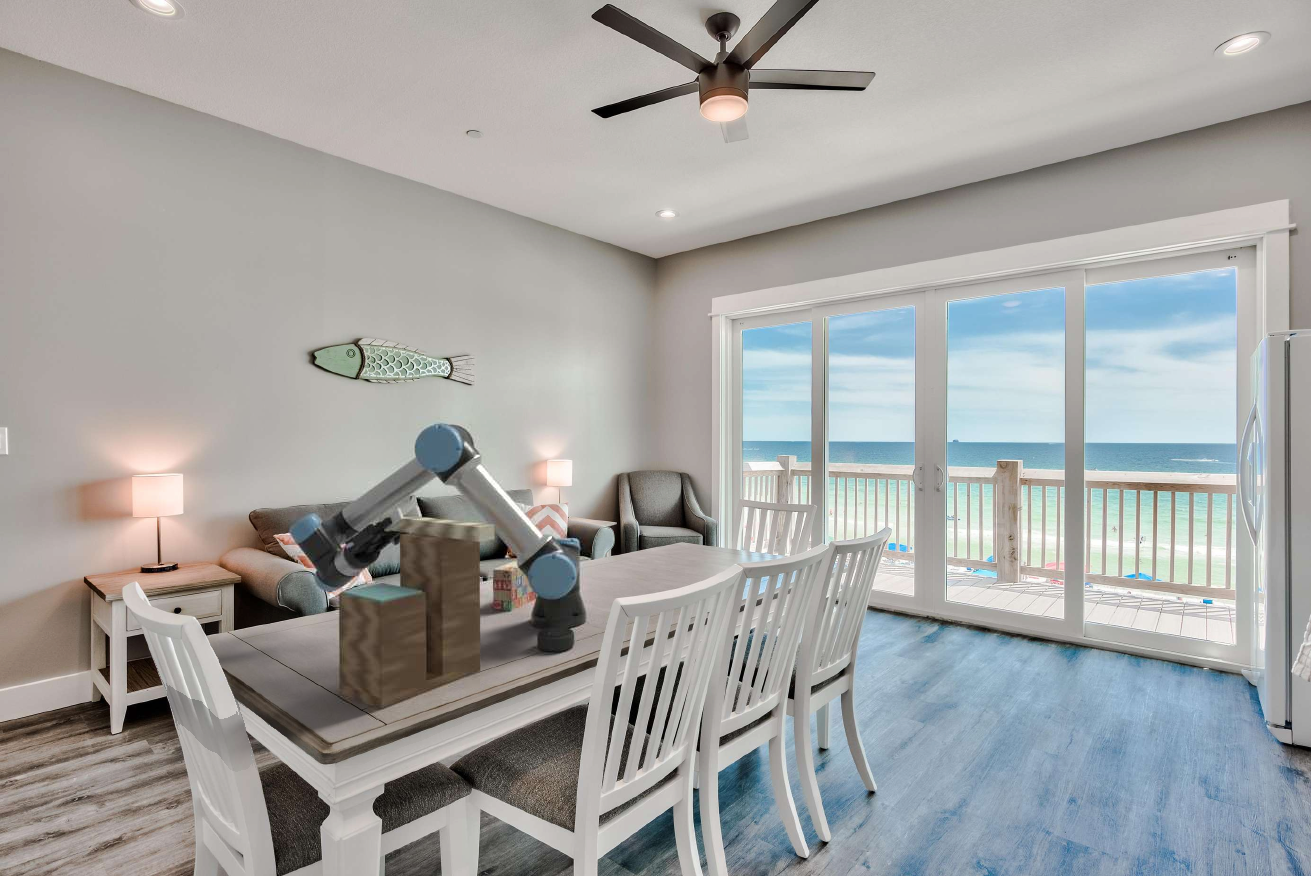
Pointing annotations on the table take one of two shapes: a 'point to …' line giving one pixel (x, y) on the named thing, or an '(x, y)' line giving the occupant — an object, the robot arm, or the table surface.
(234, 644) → the table surface
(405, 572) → the oak stand
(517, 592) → the stack of blocks
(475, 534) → the birch bar
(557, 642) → the smart speaker
